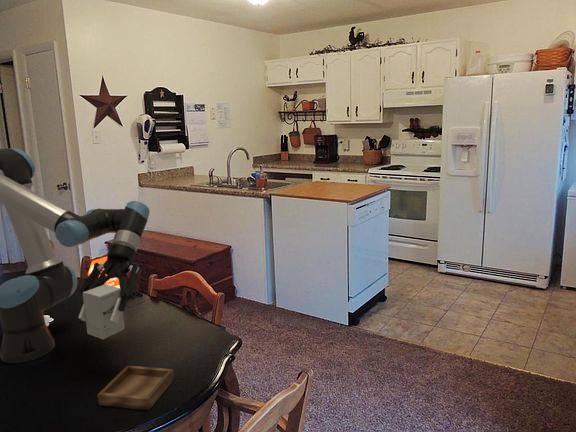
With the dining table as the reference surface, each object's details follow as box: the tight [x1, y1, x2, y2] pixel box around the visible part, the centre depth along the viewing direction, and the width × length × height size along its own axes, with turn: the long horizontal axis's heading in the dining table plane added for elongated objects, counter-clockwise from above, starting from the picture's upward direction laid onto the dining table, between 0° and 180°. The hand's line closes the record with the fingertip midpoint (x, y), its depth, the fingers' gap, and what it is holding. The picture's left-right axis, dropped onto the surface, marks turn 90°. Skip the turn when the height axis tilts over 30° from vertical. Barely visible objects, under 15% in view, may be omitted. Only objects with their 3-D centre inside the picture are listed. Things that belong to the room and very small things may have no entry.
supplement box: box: [82, 284, 125, 340], centre depth 128 cm, size 7×7×13 cm
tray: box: [97, 364, 175, 411], centre depth 121 cm, size 14×14×3 cm
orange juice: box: [87, 256, 120, 288], centre depth 177 cm, size 8×9×20 cm
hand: (97, 320), depth 125 cm, fingers closed on supplement box, 9 cm apart
